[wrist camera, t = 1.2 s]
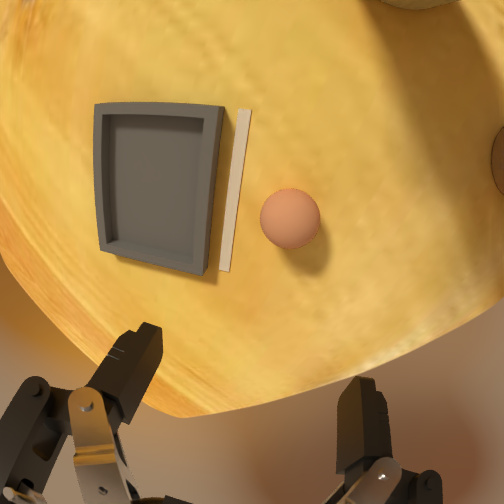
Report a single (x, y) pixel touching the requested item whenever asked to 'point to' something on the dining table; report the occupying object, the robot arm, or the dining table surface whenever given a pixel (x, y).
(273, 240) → the ball
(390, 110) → the dining table surface
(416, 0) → the potted cactus
